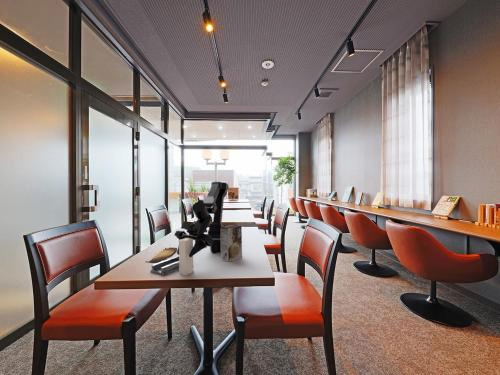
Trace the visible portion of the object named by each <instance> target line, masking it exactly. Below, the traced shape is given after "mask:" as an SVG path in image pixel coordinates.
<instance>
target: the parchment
mask: <svg viewBox="0 0 500 375" xmlns="http://www.w3.org/2000/svg"><path fill="white" fill-rule="evenodd" d="M164 248H165V249H163V248H162V249H163V250H162V249H160V250H161V251H160V250H159V251H158V252H156V253H154V255H153V258H151V259H150V261H149V262H150V263H159V262H162V261H165V260H168V259H170V258H171V257H172V255H174V254H175V252H177V251H176V250H178V247H164ZM145 262H146V263H148V261H147V260H146V261H145Z"/></svg>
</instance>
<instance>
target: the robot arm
mask: <svg viewBox="0 0 500 375" xmlns="http://www.w3.org/2000/svg"><path fill="white" fill-rule="evenodd" d="M228 191H229V184H228V183H227V182H226V181H224V182H222V181H219V180H218V181H212V182H211V186H210V188H209V191H208V193H207V196H206V197H205V198H204V199H198V201H196V202H195V203H194V204H192V206H191V209H192V212H193V214H194V216H195V218H196V220H194V221H186V220H183V222H182V223H181V228H180V229H182V230H180V229H178V230H176V231H175V232H174V237H176V238H177V239H178V241H179V240H181V239H185V238H190V239H193V241H194V244H193V248H192V250H191V252H190V254H189V257H192V256H193V257H194V255H197V254H198V253H199V252H200V251H202V250H204V249H206V248H208V247H210V248H209V249H210V250H209V251H210V252H211V253H212V254H219V253H220V254H221V237H220V227H222V226H224V225H223V223H222V220H223V212H224V202H225V201H224V200H225V197H226V196H227V195H228ZM211 215H213V217H212V216H211ZM208 227H209V228H208ZM184 230H186V231H184ZM176 250H177V251H176V254H177V256H179V245H178V247H177V249H176Z"/></svg>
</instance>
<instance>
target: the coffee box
mask: <svg viewBox="0 0 500 375" xmlns="http://www.w3.org/2000/svg"><path fill="white" fill-rule="evenodd" d="M242 236H243V232H242V225H239V224H228V225H223V226H222V227H220V237H221V253H220V259H221V260H223V261H226V262H228V263H229V262H232V261H235V260H238V259H241V258H243V237H242Z"/></svg>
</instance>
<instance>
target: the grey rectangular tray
mask: <svg viewBox="0 0 500 375" xmlns="http://www.w3.org/2000/svg"><path fill="white" fill-rule="evenodd" d="M177 271H179V255H176V256H174V257H173V256H172V257H169V258H167V259H166V260H163V261H161V262H155V263H154V264H151V268H150V273H153V274H157V275H161V276H163V277H164V276H168V275H169V274H172V273H174V272H177Z"/></svg>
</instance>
